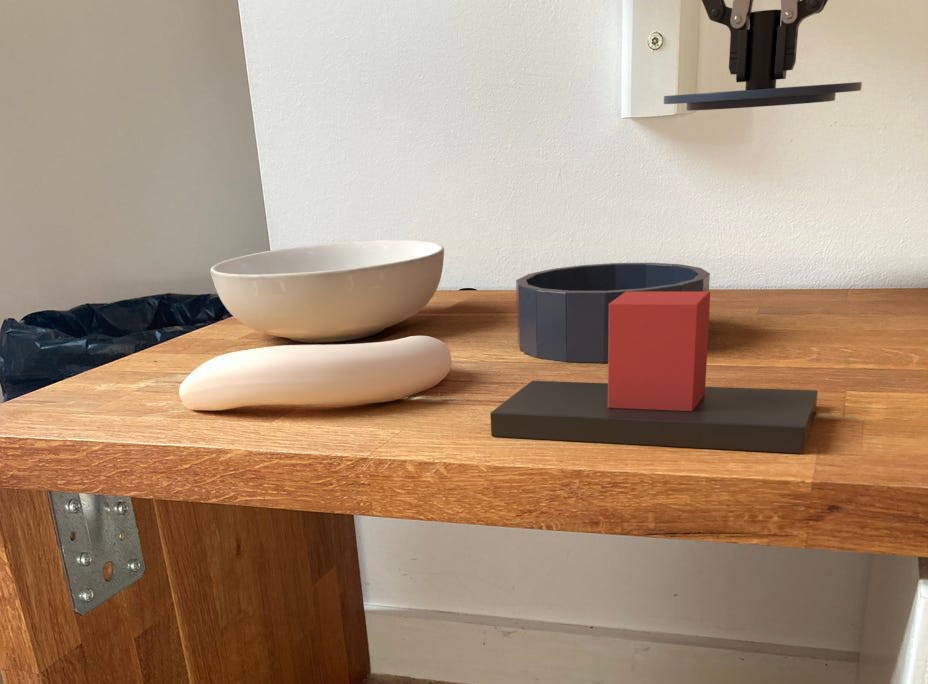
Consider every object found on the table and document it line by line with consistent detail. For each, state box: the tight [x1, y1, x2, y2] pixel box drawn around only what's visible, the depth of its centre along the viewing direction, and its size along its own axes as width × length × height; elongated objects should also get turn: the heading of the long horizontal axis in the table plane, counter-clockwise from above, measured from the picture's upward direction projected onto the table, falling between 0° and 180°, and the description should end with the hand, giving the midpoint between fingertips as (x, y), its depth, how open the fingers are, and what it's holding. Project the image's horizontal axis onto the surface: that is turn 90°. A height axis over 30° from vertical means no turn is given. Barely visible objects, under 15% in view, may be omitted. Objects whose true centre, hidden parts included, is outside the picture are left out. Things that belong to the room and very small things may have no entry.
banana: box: [178, 335, 453, 411], centre depth 73 cm, size 5×19×15 cm
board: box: [490, 380, 819, 455], centre depth 62 cm, size 18×8×2 cm, turn 68°
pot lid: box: [663, 9, 863, 112], centre depth 83 cm, size 16×16×7 cm
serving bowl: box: [209, 239, 445, 344], centre depth 93 cm, size 21×21×7 cm
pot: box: [515, 262, 711, 365], centre depth 81 cm, size 15×15×6 cm
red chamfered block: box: [607, 291, 711, 412], centre depth 60 cm, size 5×4×6 cm
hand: (761, 79), depth 84 cm, fingers closed on pot lid, 2 cm apart
